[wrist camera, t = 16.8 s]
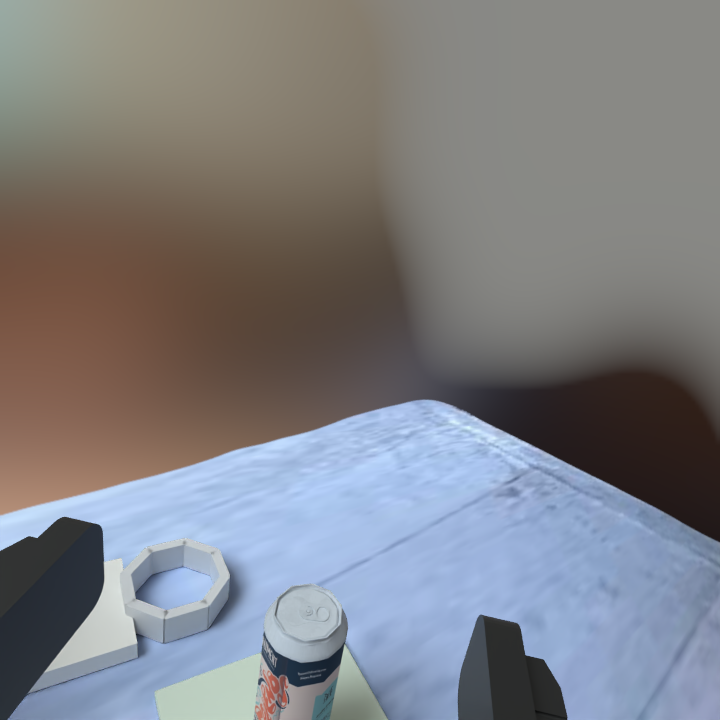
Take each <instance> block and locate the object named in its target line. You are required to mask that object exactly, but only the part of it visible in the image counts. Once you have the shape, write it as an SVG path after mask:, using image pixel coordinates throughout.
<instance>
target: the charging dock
mask: <svg viewBox="0 0 720 720" xmlns="http://www.w3.org/2000/svg"><path fill="white" fill-rule="evenodd" d="M179 567H186V568H189V569H192V570H195V571H198V572H201V573H203V574H206V575H209V576H210V577H211V580H212V583H213V586H212V587H211V589H210V590H209V591H208V593H207V594H206V596H205V597H204V598H203V600H200V601H197V602H193V603H190V604H187V605H183V606H180V607H176V608H173V609H170V610H164V609H162V608H159V607H156V606H154V605H151V604H148V603H145V602H143V601H140V600H137V599H136V597H135V592H136V591H137V590H138V589H139V588H140V587H141V586H142V585H143V584H144V583H145V581H146V580H147V579H148V578H149V577H150V576H151V575H152V574H156V573H160V572H164V571H167V570H171V569H175V568H179ZM229 583H230V574H229V572H228V569H227V567H226V564H225V562H224V559H223V557H222V555H221V552H220V550H218V549H217V548H214V547H211V546H208V545H205V544H202V543H200V542H197V541H194V540H191V539H188V538H186V539H185V538H183V539H179V540H174V541H170V542H166V543H161V544H157V545H153V546H148V547H147V548H145V549H144V550H143V551H142V552H141V553H140V554H139V555H138V556H137V557H136V558H135V559H134V560H133V561H132V562H131V563H130V564H129V565H128V566H127V567H126V568H125V569H123V564H122V558H119V559H115V560H111V561H107V562H104V586H103V590H102V593H101V595H100V598H99V600H98V602H97V604H96V606H95V607H94V609H93V610H92V612H91V613H90V614H89V616H88V617H87V618H86V620H85V621H84V622H83V623H82V625H81V626H80V627H79V628H78V630H77V631H76V632H75V634H74V635H73V636H72V637H71V639H70V640H69V641H68V642H67V644H66V645H65V646H64V648H63V649H62V650H61V651H60V653H59V654H58V655H57V657H56V658H55V659H54V660H53V662H52V663H51V664H50V665H49V667H48V668H47V669H46V671H45V672H44V673H43V674H42V676H41V677H40V678H39V680H38V681H37V682H36V683H35V685H34V686H33V687H32V688H31V690H30V691H29V692H28V694H29V693H32V692H35V691H38V690H41V689H44V688H47V687H50V686H53V685H56V684H59V683H62V682H65V681H68V680H71V679H74V678H77V677H81V676H84V675H87V674H90V673H93V672H96V671H99V670H102V669H105V668H108V667H111V666H114V665H117V664H120V663H123V662H126V661H129V660H132V659H135V658H138V652H137V638H136V633H137V634H139V635H142V636H144V637H147V638H150V639H152V640H155V641H157V642H160V643H164V642H165V643H168V642H171V641H174V640H177V639H180V638H184V637H187V636H190V635H193V634H196V633H199V632H202V631H205V630H207V628H208V629H209V627H210V626H211V624H212V623H213V621H214V620H215V618H216V617H217V615H218V614H219V612H220V611H221V609H222V608H223V606H224V605H225V603H226V602H227V600H228V596H229Z"/></svg>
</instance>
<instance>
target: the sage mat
mask: <svg viewBox="0 0 720 720" xmlns="http://www.w3.org/2000/svg"><path fill="white" fill-rule="evenodd" d="M261 653H262V652H261ZM261 653H258V654H255V655H253V656H250V657H247V658H244V659H242V660H239V661H236V662H233V663H231V664H228V665H225V666H222V667H220V668H217V669H214V670H211V671H209V672H206V673H203V674H200V675H198V676H195V677H192V678H190V679H187V680H184V681H181V682H179V683H176V684H173V685H170V686H168V687H165V688H162V689H159V690H157V691H155V701H156V706H157V711H158V716H159V720H254V712H255V704H256V695H257V687H258V678H259V670H260V661H261ZM330 720H388V719H387V717H386V715H385V713H384V712H383V710H382V708H381V706H380V705H379V703H378V701H377V699H376V698H375V696H374V694H373V692H372V691H371V689H370V687H369V685H368V684H367V682H366V680H365V678H364V677H363V675H362V673H361V671H360V670H359V668H358V666H357V664H356V663H355V661H354V659H353V657H352V656H351V654H350V652H349V650H348V648H347V647H346V645H345V644H344V650H343V655H342V660H341V665H340V670H339V675H338V680H337V685H336V690H335V695H334V700H333V705H332V710H331V715H330Z"/></svg>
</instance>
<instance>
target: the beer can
mask: <svg viewBox="0 0 720 720" xmlns="http://www.w3.org/2000/svg"><path fill="white" fill-rule="evenodd" d="M347 630H348V624H347V618H346V615H345V613H344V611H343V609H342V605H341V604H340V603H339V601H338V600H337V599H336V597H335V596H334V595H333V593H332V592H331V591H330V590H327V589H324V588H322V587H319V586H317V585H314V584H304V585H296V586H291V587H290V588H289V589H287V590H286V591H285V592H284V593H282V594H281V595H280V596H279V597H277V599H276V601H275V602H273V603H272V605H271V606H270V607H269V609H268V611H267V613H266V616H265V621H264V636H263V644H262V653H261V661H260V670H259V678H258V687H257V695H256V704H255V712H254V720H330V715H331V710H332V705H333V700H334V695H335V690H336V685H337V680H338V675H339V670H340V665H341V660H342V655H343V650H344V644H345V640H346V636H347Z"/></svg>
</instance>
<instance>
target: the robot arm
mask: <svg viewBox="0 0 720 720" xmlns="http://www.w3.org/2000/svg"><path fill="white" fill-rule="evenodd" d="M103 586H104V553H103V531H102V528H101V526H100V525H98V524H94V523H90V522H85V521H81V520H77V519H72V518H68V517H62V518H60V519H58V520H57V521H55V522H54V523H53V524H52V525H51V526H50V527H49V528H48V529H47V530H46V531H44V532H43V533H42V534H41V535H40V536H39V537H38V538H34V537H30V536H28V537H26V538H24V539H23V540H21V541H19V542H17V543H15V544H13V545H11V546H9V547H7V548H5V549H3V550H1V551H0V720H7V719H8V718H9V717H10V715H11V714H12V713H13V711H14V710H15V709H16V708H17V706H18V705H19V704H20V702H21V701H22V700H23V699H24V697H25V696H26V695H27V694H28V692H29V691H30V690H31V688H32V687H33V686H34V685H35V683H36V682H37V681H38V680H39V678H40V677H41V676H42V674H43V673H44V672H45V671H46V669H47V668H48V667H49V665H50V664H51V663H52V662H53V660H54V659H55V658H56V657H57V655H58V654H59V653H60V651H61V650H62V649H63V648H64V646H65V645H66V644H67V642H68V641H69V640H70V639H71V637H72V636H73V635H74V634H75V632H76V631H77V630H78V628H79V627H80V626H81V625H82V623H83V622H84V621H85V620H86V618H87V617H88V616H89V614H90V613H91V612H92V610H93V609H94V607H95V606H96V604H97V602H98V600H99V598H100V595H101V593H102V590H103ZM458 720H567V713H566V709H565V705H564V700H563V696H562V692H561V688H560V686H559V684H558V683H557V681H556V679H555V678H554V676H553V674H552V673H551V671H550V669H549V668H548V666H547V664H546V663H545V661H544V660H543V659H539V658H534V657H530V656H526V655H525V651H524V645H523V640H522V634H521V629H520V626H519V625H518V624H517V623H514V622H510V621H505V620H501V619H497V618H493V617H488V616H484V615H479V617H478V619H477V621H476V624H475V627H474V630H473V634H472V637H471V640H470V643H469V646H468V649H467V652H466V656H465V659H464V662H463V665H462V669H461V673H460V680H459V688H458Z"/></svg>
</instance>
